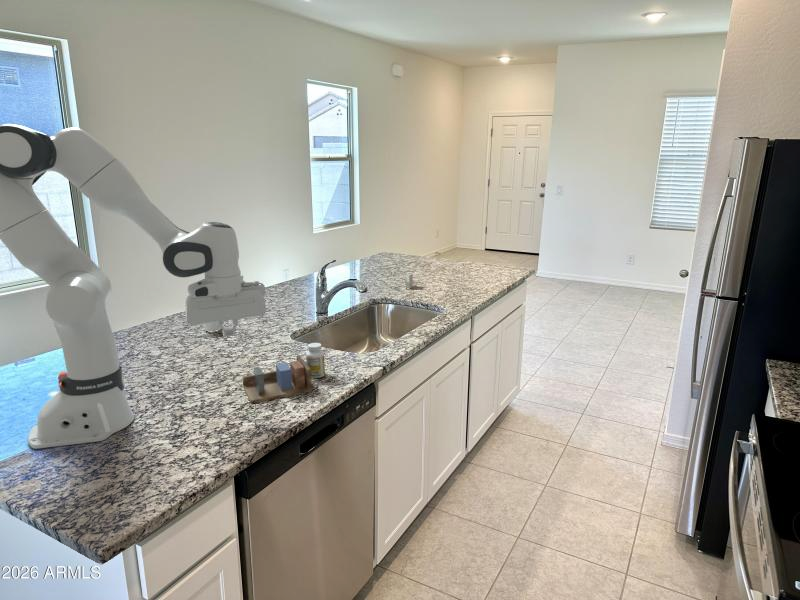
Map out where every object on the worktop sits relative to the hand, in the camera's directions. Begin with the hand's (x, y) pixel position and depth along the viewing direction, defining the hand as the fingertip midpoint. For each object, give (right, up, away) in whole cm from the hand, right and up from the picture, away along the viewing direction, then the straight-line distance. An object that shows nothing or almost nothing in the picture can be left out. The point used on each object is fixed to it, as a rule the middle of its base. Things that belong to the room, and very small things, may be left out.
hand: (229, 335), depth 143 cm
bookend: (+6, -16, +8) cm, 19 cm away
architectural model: (+50, +15, +123) cm, 133 cm away
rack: (+10, -16, +11) cm, 22 cm away
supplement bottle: (+20, -14, +20) cm, 32 cm away
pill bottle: (-24, +5, +88) cm, 91 cm away
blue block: (+12, -15, +11) cm, 22 cm away
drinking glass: (-26, -2, +61) cm, 66 cm away
